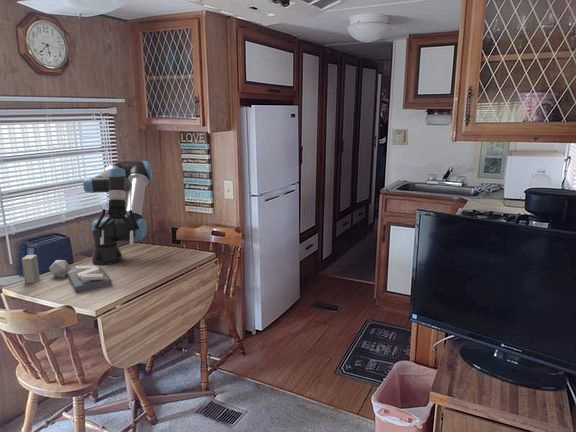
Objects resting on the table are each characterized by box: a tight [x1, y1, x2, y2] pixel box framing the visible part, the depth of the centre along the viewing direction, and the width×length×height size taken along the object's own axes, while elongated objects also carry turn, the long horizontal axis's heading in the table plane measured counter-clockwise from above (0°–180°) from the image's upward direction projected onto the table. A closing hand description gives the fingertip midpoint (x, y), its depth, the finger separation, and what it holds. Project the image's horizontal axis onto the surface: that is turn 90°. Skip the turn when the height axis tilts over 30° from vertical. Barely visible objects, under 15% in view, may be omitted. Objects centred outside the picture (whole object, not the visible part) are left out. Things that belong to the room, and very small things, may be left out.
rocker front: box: [80, 274, 104, 280], centre depth 196 cm, size 4×9×1 cm, turn 124°
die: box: [48, 259, 72, 278], centre depth 211 cm, size 8×9×10 cm
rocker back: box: [74, 264, 97, 272], centre depth 208 cm, size 4×9×1 cm, turn 124°
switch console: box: [67, 267, 113, 294], centre depth 202 cm, size 21×15×4 cm
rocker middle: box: [77, 266, 100, 279], centre depth 202 cm, size 4×9×1 cm, turn 124°
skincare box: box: [21, 254, 40, 284], centre depth 204 cm, size 6×4×12 cm
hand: (117, 244), depth 206 cm, fingers open, 13 cm apart
